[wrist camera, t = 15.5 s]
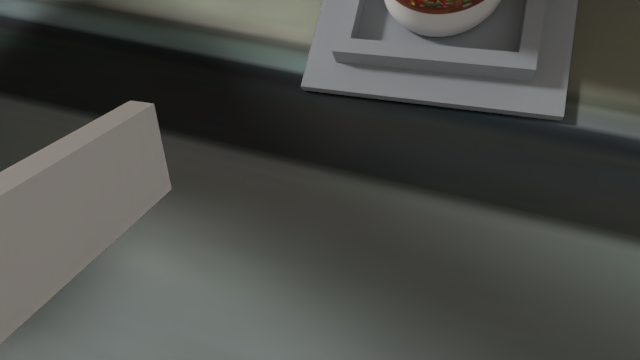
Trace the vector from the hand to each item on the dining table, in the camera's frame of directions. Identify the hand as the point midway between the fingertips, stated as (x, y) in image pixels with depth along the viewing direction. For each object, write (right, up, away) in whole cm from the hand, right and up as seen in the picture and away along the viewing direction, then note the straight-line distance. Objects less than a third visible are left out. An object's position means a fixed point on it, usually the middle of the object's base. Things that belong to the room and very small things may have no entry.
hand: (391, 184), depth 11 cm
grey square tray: (+6, +12, +19) cm, 24 cm away
